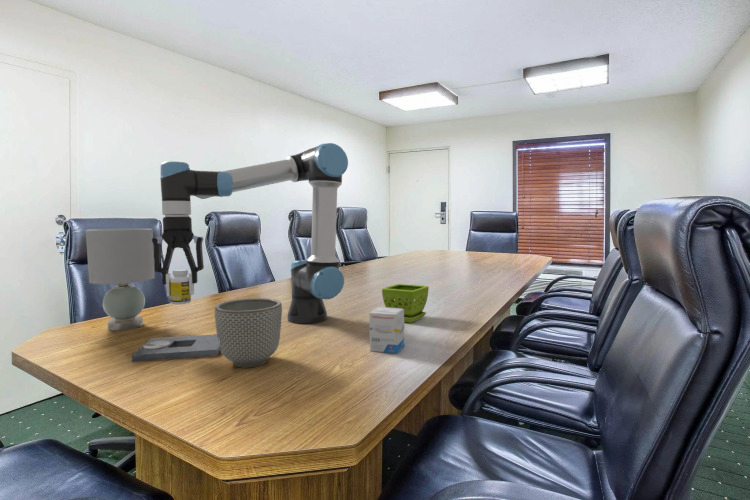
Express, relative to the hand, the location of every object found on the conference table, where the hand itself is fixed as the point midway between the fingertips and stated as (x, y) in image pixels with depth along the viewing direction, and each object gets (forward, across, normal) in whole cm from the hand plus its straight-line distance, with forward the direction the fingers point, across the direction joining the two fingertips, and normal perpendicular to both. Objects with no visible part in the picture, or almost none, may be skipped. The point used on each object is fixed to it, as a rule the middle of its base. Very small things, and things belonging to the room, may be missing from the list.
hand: (180, 294), depth 119 cm
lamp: (+17, +27, -32) cm, 45 cm away
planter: (+17, -21, +15) cm, 31 cm away
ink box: (+17, -60, +12) cm, 63 cm away
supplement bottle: (+3, 0, 0) cm, 3 cm away
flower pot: (+17, -75, -20) cm, 79 cm away
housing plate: (+17, 0, 0) cm, 17 cm away
